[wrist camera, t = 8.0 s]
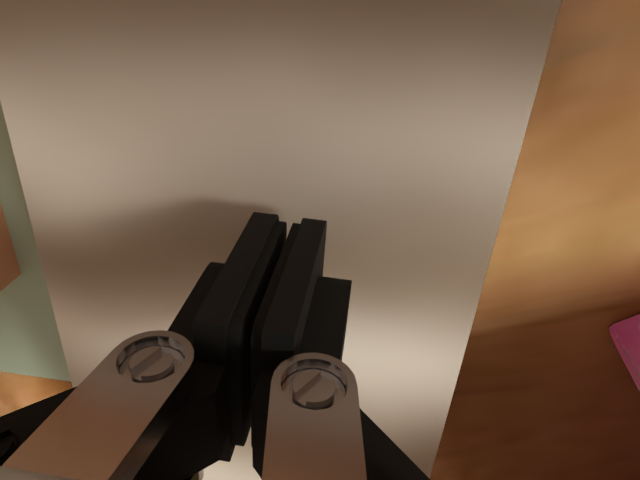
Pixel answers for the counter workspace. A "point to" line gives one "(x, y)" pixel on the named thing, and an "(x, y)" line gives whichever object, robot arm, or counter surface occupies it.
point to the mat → (25, 287)
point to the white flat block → (275, 166)
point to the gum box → (628, 344)
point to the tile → (7, 255)
